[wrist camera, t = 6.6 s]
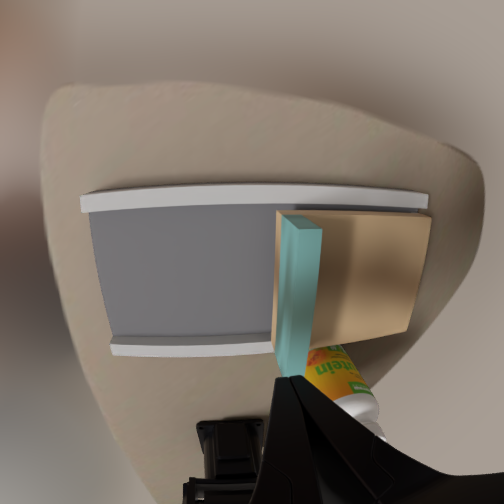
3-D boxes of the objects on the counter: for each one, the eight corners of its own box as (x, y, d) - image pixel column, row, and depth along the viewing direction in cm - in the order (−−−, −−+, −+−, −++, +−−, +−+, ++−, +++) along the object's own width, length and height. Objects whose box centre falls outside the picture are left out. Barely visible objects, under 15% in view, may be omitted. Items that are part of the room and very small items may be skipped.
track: (388, 319, 21) (401, 333, 19) (119, 339, 19) (112, 356, 17) (411, 190, 18) (430, 195, 16) (93, 191, 15) (78, 196, 13)
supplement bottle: (352, 336, 21) (410, 420, 12) (333, 382, 23) (375, 463, 14) (291, 338, 20) (335, 440, 11) (278, 386, 22) (307, 480, 13)
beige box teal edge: (390, 315, 20) (427, 353, 15) (267, 330, 18) (285, 385, 13) (410, 210, 17) (463, 229, 12) (271, 206, 16) (298, 229, 11)
